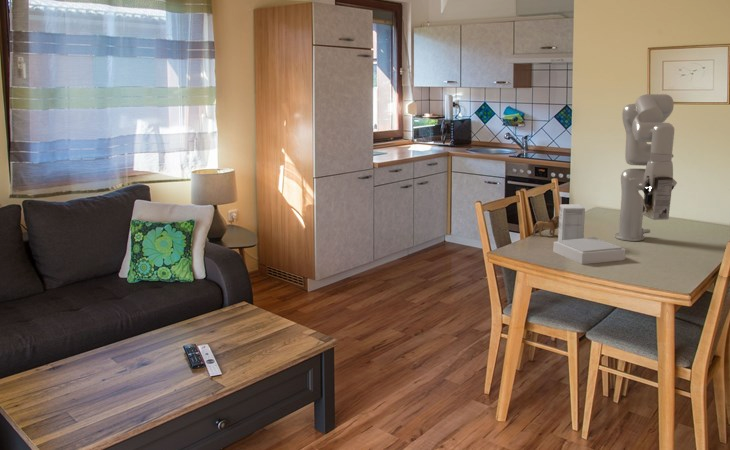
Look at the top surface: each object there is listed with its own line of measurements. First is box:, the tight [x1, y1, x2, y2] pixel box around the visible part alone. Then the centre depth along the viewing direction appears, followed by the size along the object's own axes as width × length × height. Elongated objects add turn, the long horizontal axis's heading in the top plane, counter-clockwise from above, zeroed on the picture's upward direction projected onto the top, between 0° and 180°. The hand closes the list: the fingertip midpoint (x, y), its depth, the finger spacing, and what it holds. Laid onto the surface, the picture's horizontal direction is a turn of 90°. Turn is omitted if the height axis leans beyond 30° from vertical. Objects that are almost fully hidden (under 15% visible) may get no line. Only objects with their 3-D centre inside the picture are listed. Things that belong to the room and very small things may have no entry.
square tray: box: [552, 236, 626, 265], centre depth 271 cm, size 20×20×5 cm
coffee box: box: [642, 177, 674, 221], centre depth 254 cm, size 9×6×16 cm
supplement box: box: [557, 203, 586, 241], centre depth 290 cm, size 10×9×17 cm
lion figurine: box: [530, 215, 559, 237], centre depth 307 cm, size 15×5×9 cm, turn 103°
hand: (656, 203), depth 255 cm, fingers closed on coffee box, 7 cm apart
